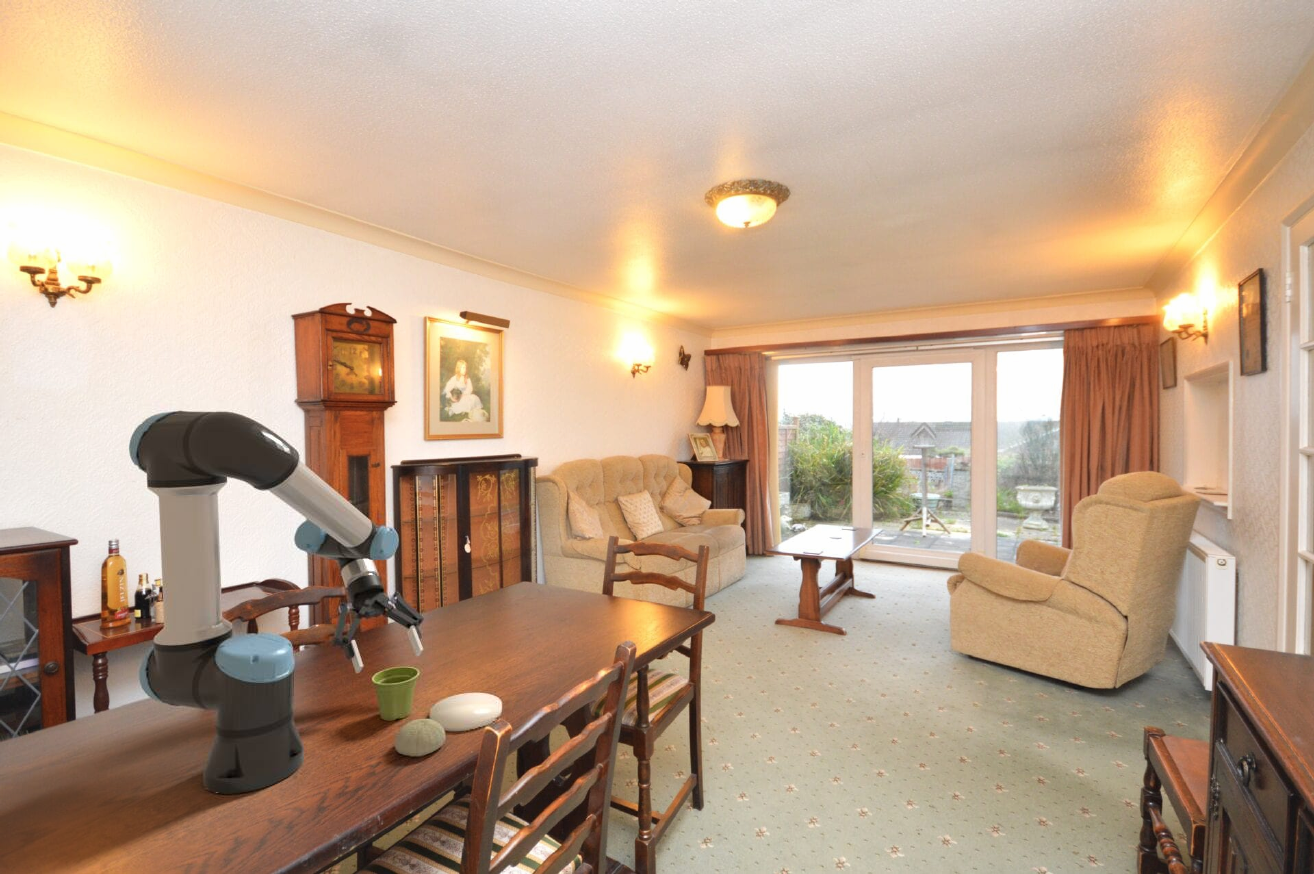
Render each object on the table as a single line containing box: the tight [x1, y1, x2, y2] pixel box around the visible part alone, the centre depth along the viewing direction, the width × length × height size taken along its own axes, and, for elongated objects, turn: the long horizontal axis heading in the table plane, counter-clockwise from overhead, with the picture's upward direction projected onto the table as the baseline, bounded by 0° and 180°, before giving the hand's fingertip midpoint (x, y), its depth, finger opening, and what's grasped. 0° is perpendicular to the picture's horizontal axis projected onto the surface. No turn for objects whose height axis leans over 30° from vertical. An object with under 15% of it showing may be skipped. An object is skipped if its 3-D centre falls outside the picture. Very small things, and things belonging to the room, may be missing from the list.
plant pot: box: [371, 666, 420, 722], centre depth 132 cm, size 9×9×9 cm
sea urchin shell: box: [394, 718, 447, 758], centre depth 119 cm, size 9×8×8 cm
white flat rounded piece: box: [429, 692, 503, 732], centre depth 132 cm, size 15×15×2 cm
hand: (391, 661), depth 137 cm, fingers open, 13 cm apart
